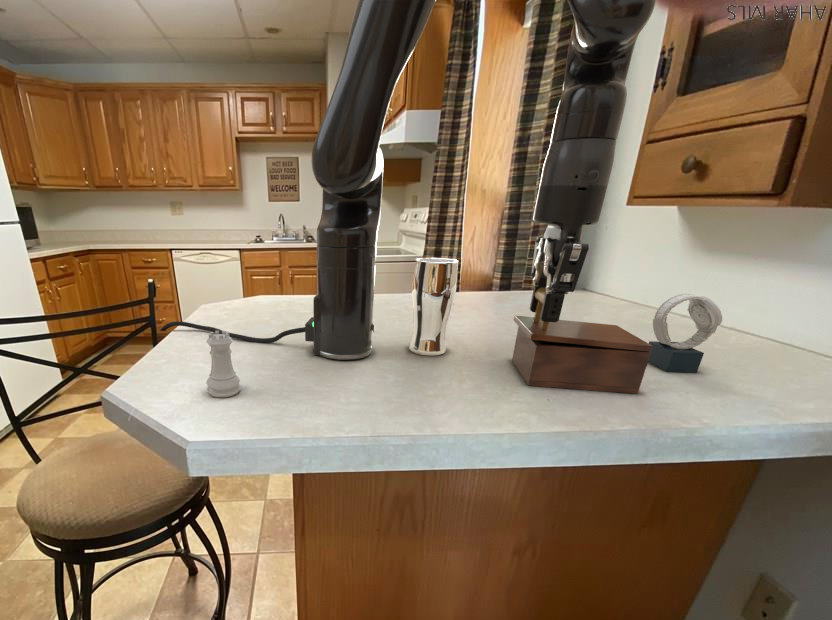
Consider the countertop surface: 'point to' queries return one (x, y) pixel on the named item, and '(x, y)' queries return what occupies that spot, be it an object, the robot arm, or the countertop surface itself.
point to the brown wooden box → (579, 365)
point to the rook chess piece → (221, 367)
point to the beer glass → (432, 303)
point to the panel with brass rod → (578, 331)
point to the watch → (682, 353)
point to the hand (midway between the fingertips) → (543, 315)
